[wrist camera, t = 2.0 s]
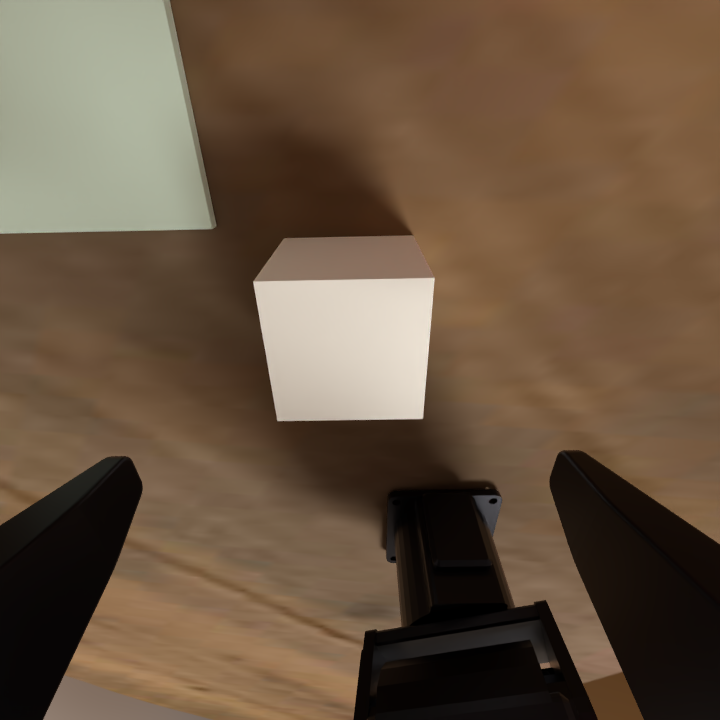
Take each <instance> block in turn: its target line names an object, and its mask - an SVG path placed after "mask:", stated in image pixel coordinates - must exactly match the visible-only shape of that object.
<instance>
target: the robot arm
mask: <svg viewBox="0 0 720 720" xmlns="http://www.w3.org/2000/svg"><path fill="white" fill-rule="evenodd" d="M549 482H550V489H551V492H552V495H553V499H554V502H555V505H556V508H557V511H558V514H559V517H560V520H561V523H562V526H563V529H564V532H565V535H566V538H567V542H568V545H569V548H570V551H571V553H572V556H573V559H574V562H575V564H576V567H577V569H578V571H579V574H580V576H581V578H582V581H583V583H584V585H585V587H586V590H587V592H588V594H589V596H590V599H591V601H592V603H593V605H594V608H595V610H596V612H597V614H598V617H599V619H600V621H601V623H602V626H603V628H604V630H605V633H606V635H607V637H608V639H609V642H610V644H611V646H612V648H613V651H614V653H615V655H616V657H617V660H618V662H619V664H620V666H621V669H622V671H623V673H624V675H625V678H626V680H627V682H628V684H629V687H630V689H631V691H632V694H633V696H634V698H635V700H636V703H637V705H638V707H639V709H640V712H641V714H642V716H643V718H644V720H720V544H718V543H717V542H716V541H714V540H713V539H711V538H710V537H708V536H707V535H705V534H704V533H702V532H701V531H699V530H698V529H696V528H695V527H693V526H692V525H691V524H689V523H688V522H686V521H685V520H683V519H682V518H680V517H679V516H677V515H676V514H674V513H673V512H671V511H670V510H668V509H667V508H666V507H664V506H663V505H661V504H660V503H658V502H657V501H655V500H654V499H652V498H651V497H649V496H648V495H646V494H645V493H643V492H642V491H641V490H639V489H638V488H636V487H635V486H633V485H632V484H630V483H629V482H627V481H626V480H624V479H623V478H621V477H620V476H618V475H617V474H615V473H614V472H613V471H611V470H610V469H608V468H607V467H605V466H604V465H602V464H601V463H599V462H598V461H596V460H595V459H593V458H592V457H590V456H589V455H588V454H586V453H584V452H583V451H579V450H564V451H561V452H559V453H558V455H557V458H556V461H555V464H554V467H553V470H552V473H551V476H550V481H549ZM142 489H143V486H142V481H141V479H140V477H139V475H138V472H137V470H136V468H135V466H134V464H133V461H132V460H131V459H130V458H129V457H126V456H111V457H107V458H105V459H103V460H101V461H100V462H98V463H97V464H95V465H94V466H92V467H91V468H89V469H87V470H86V471H84V472H83V473H81V474H80V475H78V476H77V477H75V478H73V479H72V480H70V481H69V482H67V483H66V484H64V485H63V486H61V487H59V488H58V489H56V490H55V491H53V492H52V493H50V494H49V495H47V496H45V497H44V498H42V499H41V500H39V501H38V502H36V503H35V504H33V505H31V506H30V507H28V508H27V509H25V510H24V511H22V512H20V513H19V514H17V515H16V516H14V517H13V518H11V519H10V520H8V521H6V522H5V523H3V524H2V525H0V720H43V719H44V716H45V714H46V712H47V710H48V708H49V706H50V704H51V702H52V700H53V697H54V695H55V693H56V691H57V689H58V687H59V685H60V683H61V681H62V678H63V676H64V674H65V672H66V670H67V668H68V666H69V664H70V661H71V659H72V657H73V655H74V653H75V651H76V649H77V647H78V645H79V642H80V640H81V638H82V636H83V634H84V632H85V630H86V628H87V626H88V623H89V621H90V619H91V617H92V615H93V613H94V611H95V609H96V607H97V604H98V602H99V600H100V598H101V596H102V594H103V592H104V590H105V588H106V585H107V583H108V581H109V579H110V577H111V575H112V572H113V570H114V568H115V566H116V563H117V561H118V558H119V556H120V553H121V550H122V548H123V545H124V542H125V539H126V536H127V534H128V531H129V528H130V525H131V522H132V520H133V517H134V514H135V511H136V509H137V506H138V503H139V500H140V497H141V494H142ZM501 503H502V498H501V495H500V493H499V492H498V491H497V490H424V491H393V492H391V493H389V494H388V500H387V538H386V559H387V561H388V562H390V563H396V565H397V577H398V589H399V601H400V613H401V625H402V627H399V628H393V629H388V630H382V631H377V630H376V629H375V630H369V631H365V637H364V646H363V650H362V652H361V660H360V668H359V677H358V686H357V695H356V703H355V712H354V720H598V719H597V717H596V714H595V712H594V709H593V707H592V705H591V702H590V700H589V697H588V695H587V693H586V690H585V688H584V686H583V684H582V681H581V679H580V677H579V675H578V672H577V670H576V668H575V665H574V663H573V661H572V659H571V656H570V654H569V652H568V649H567V647H566V645H565V643H564V640H563V638H562V636H561V633H560V631H559V629H558V627H557V624H556V622H555V620H554V618H553V615H552V613H551V611H550V608H549V606H548V604H547V602H546V600H543V601H538V602H534V605H528V606H522V607H517V608H515V605H514V602H513V599H512V596H511V593H510V590H509V587H508V584H507V580H506V577H505V574H504V571H503V568H502V565H501V562H500V559H499V556H498V553H497V550H496V547H495V544H494V541H493V533H494V530H495V526H496V522H497V518H498V514H499V511H500V507H501ZM547 662H549V663H550V666H551V668H546V669H541V667H540V663H547Z"/></svg>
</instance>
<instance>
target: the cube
mask: <svg viewBox="0 0 720 720" xmlns="http://www.w3.org/2000/svg"><path fill="white" fill-rule="evenodd" d="M253 284H254V289H255V295H256V301H257V307H258V312H259V318H260V324H261V330H262V335H263V341H264V347H265V353H266V358H267V364H268V370H269V376H270V381H271V387H272V393H273V398H274V404H275V410H276V416H277V421H321V420H387V419H423V411H424V399H425V387H426V375H427V363H428V351H429V339H430V327H431V315H432V303H433V291H434V276H433V274H432V272H431V270H430V268H429V266H428V264H427V262H426V260H425V258H424V256H423V254H422V252H421V250H420V248H419V246H418V244H417V242H416V240H415V238H414V236H413V235H405V236H360V237H314V238H284V239H283V240H282V242H281V243H280V245H279V246H278V247H277V249H276V250H275V252H274V253H273V254H272V256H271V257H270V259H269V260H268V261H267V263H266V264H265V266H264V267H263V268H262V270H261V271H260V273H259V274H258V275H257V277H256V278H255V280H254V281H253Z"/></svg>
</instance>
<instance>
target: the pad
mask: <svg viewBox="0 0 720 720" xmlns="http://www.w3.org/2000/svg"><path fill="white" fill-rule="evenodd" d="M215 227H216V221H215V216H214V211H213V206H212V202H211V197H210V192H209V187H208V182H207V177H206V173H205V168H204V163H203V158H202V153H201V149H200V144H199V139H198V134H197V129H196V124H195V120H194V115H193V110H192V105H191V100H190V96H189V91H188V86H187V81H186V76H185V72H184V67H183V62H182V57H181V52H180V47H179V43H178V38H177V33H176V28H175V23H174V19H173V14H172V9H171V4H170V0H0V234H2V233H51V232H99V231H148V230H197V229H213V228H215Z"/></svg>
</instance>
